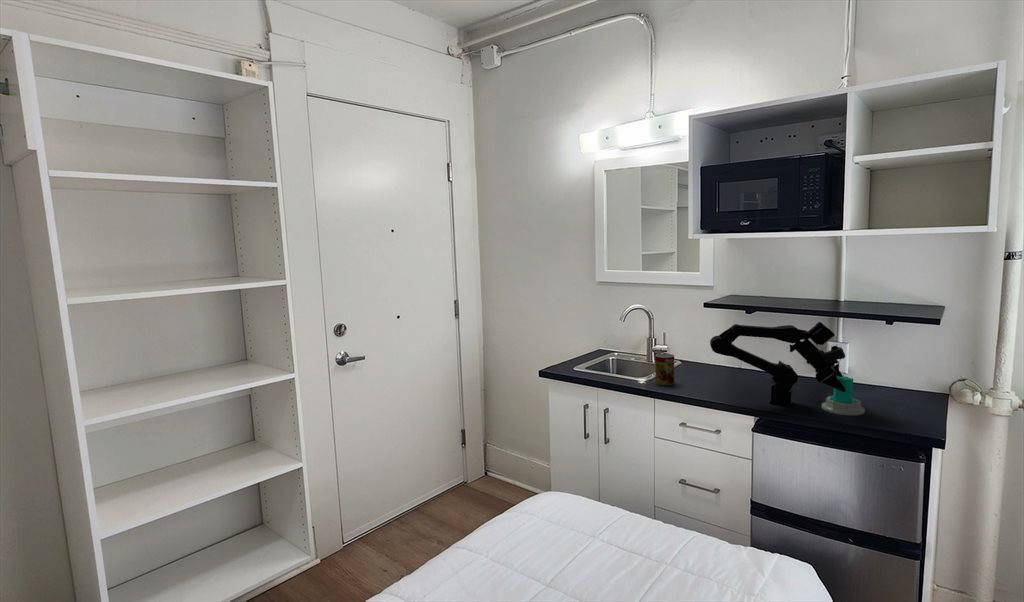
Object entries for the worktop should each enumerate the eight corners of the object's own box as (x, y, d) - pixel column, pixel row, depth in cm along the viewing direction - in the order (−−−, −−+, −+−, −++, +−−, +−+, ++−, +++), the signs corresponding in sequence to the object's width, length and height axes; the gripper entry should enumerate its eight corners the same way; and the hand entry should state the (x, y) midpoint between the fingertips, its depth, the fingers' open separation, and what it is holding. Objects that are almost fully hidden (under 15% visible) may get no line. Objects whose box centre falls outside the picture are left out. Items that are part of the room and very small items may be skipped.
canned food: (671, 386, 227) (671, 358, 225) (652, 383, 231) (652, 356, 229) (676, 381, 233) (676, 354, 232) (658, 379, 237) (658, 352, 236)
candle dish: (817, 410, 190) (817, 401, 190) (826, 401, 200) (827, 392, 199) (860, 418, 181) (861, 408, 181) (868, 408, 191) (868, 398, 191)
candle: (854, 410, 187) (856, 376, 185) (835, 408, 188) (836, 375, 187) (849, 404, 192) (850, 372, 191) (830, 403, 194) (831, 371, 193)
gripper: (827, 344, 183) (865, 380, 178) (832, 335, 198) (866, 368, 193) (800, 364, 188) (836, 399, 183) (807, 354, 203) (840, 386, 198)
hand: (845, 387), depth 189 cm, fingers open, 9 cm apart
